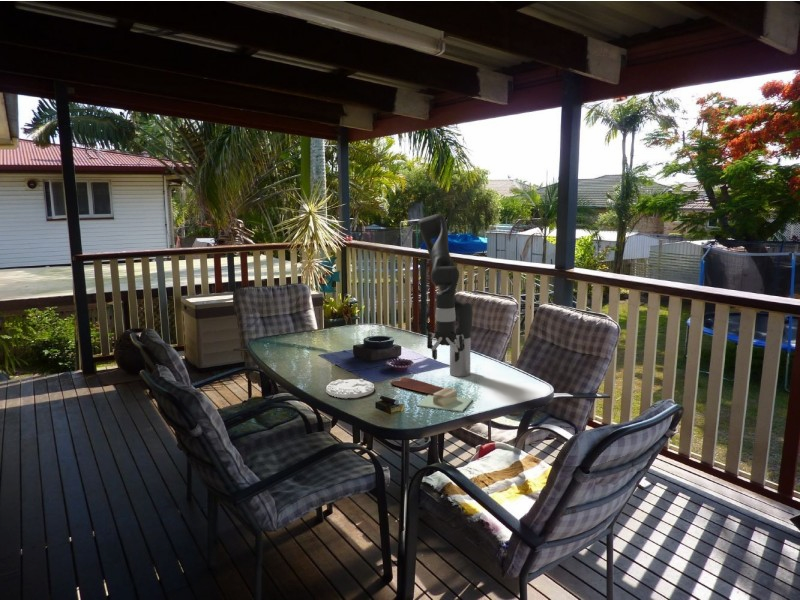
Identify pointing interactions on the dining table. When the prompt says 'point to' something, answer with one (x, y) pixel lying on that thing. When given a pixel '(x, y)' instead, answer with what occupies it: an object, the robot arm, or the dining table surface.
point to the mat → (455, 406)
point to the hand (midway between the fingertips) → (445, 360)
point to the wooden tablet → (417, 385)
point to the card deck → (445, 397)
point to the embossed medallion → (350, 388)
